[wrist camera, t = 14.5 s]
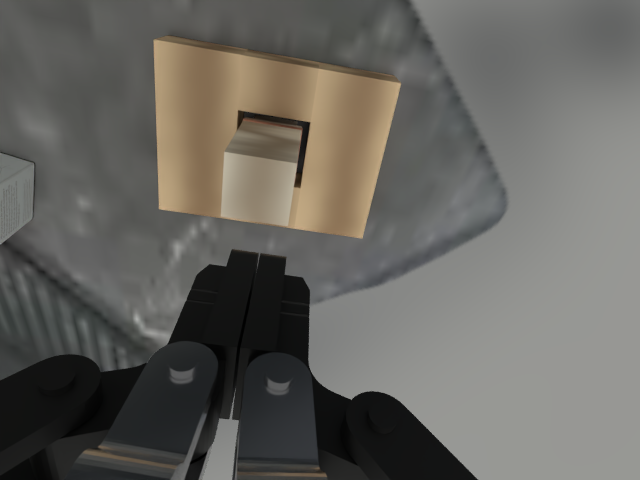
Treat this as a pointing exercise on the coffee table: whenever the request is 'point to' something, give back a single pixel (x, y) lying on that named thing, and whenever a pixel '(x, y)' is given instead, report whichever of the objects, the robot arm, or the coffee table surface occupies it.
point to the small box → (15, 194)
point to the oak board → (275, 100)
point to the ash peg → (261, 170)
